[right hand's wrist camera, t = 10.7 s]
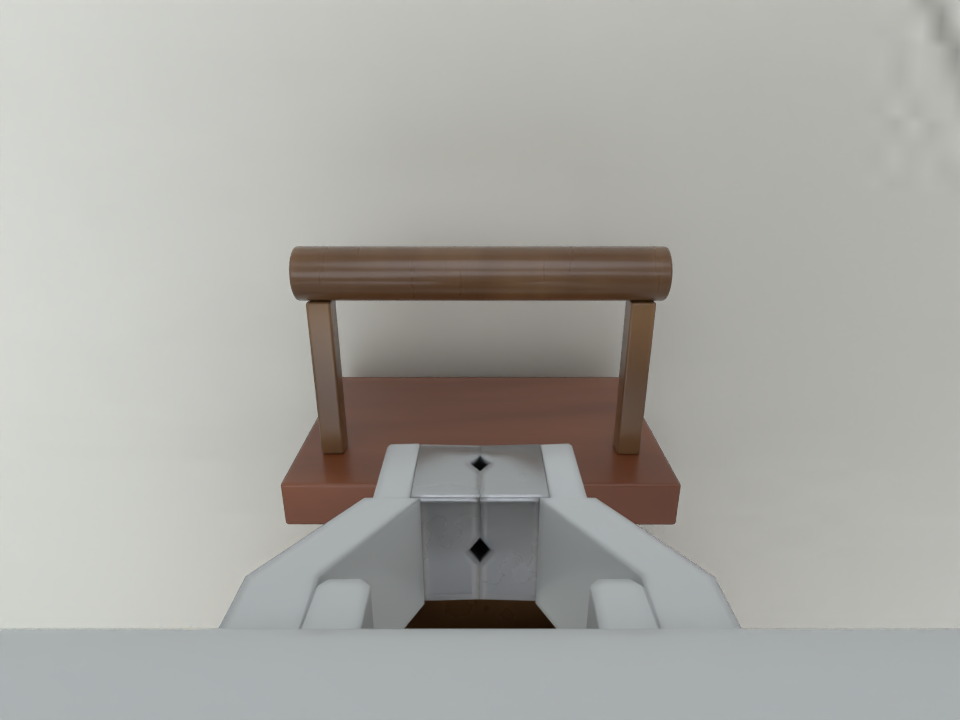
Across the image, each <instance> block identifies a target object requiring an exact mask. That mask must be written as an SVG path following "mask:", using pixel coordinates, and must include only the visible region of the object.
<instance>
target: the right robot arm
mask: <svg viewBox="0 0 960 720" xmlns="http://www.w3.org/2000/svg"><path fill="white" fill-rule="evenodd" d="M467 599H491V600H528V601H536V604H537V606H538V607H539V608H540V609H541V611H542V612H543V613H544V614H545V615H546V617H547V618H548V619H549V620H550V622H551V623H552V624H553V625H554V626H555V628H556V629H404V628H405V627H406V626H407V625H408V623H409V622H410V621H411V620H412V618H413V617H414V616H415V615H416V614H417V612H418V611H419V610H420V609H421V607H422V606H423V605H424V604H425V603H424V601H432V600H467ZM0 720H960V629H741V627H740V625H739V623H738V621H737V619H736V617H735V615H734V613H733V611H732V609H731V607H730V605H729V603H728V601H727V600H726V598H725V596H724V594H723V592H722V590H721V588H720V586H719V584H718V582H717V580H716V578H715V577H714V576H712V575H711V574H709V573H708V572H706V571H705V570H703V569H702V568H700V567H699V566H697V565H696V564H694V563H693V562H691V561H690V560H688V559H687V558H685V557H684V556H682V555H681V554H679V553H678V552H676V551H675V550H673V549H672V548H670V547H669V546H667V545H666V544H664V543H663V542H661V541H660V540H658V539H657V538H655V537H654V536H652V535H651V534H649V533H648V532H646V531H645V530H643V529H642V528H640V527H639V526H637V525H636V524H634V523H633V522H631V521H630V520H628V519H627V518H625V517H624V516H622V515H621V514H619V513H618V512H616V511H615V510H613V509H612V508H610V507H609V506H607V505H606V504H604V503H603V502H601V501H600V500H598V499H597V498H587V496H586V493H585V489H584V486H583V482H582V479H581V475H580V472H579V469H578V465H577V462H576V458H575V455H574V451H573V448H572V445H570V444H546V445H540V444H530V445H488V446H480V445H433V444H421V445H419V444H391V445H389V446H388V447H387V451H386V454H385V458H384V461H383V465H382V468H381V472H380V475H379V479H378V482H377V486H376V489H375V493H374V496H373V498H363V499H362V500H360V501H359V502H357V503H356V504H354V505H353V506H351V507H350V508H348V509H347V510H345V511H344V512H342V513H341V514H339V515H338V516H336V517H335V518H333V519H332V520H330V521H329V522H327V523H326V524H324V525H323V526H321V527H320V528H318V529H317V530H315V531H314V532H312V533H311V534H309V535H308V536H306V537H305V538H303V539H302V540H300V541H299V542H297V543H295V544H294V545H292V546H291V547H289V548H288V549H286V550H285V551H283V552H282V553H280V554H279V555H277V556H276V557H274V558H273V559H271V560H270V561H268V562H267V563H265V564H264V565H262V566H261V567H259V568H258V569H256V570H255V571H253V572H252V573H250V574H249V575H247V576H246V577H245V579H244V581H243V583H242V585H241V586H240V588H239V590H238V592H237V594H236V596H235V598H234V600H233V602H232V604H231V606H230V608H229V610H228V611H227V613H226V615H225V617H224V619H223V621H222V623H221V625H220V627H219V629H0Z"/></svg>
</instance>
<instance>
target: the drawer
mask: <svg viewBox="0 0 960 720" xmlns="http://www.w3.org/2000/svg"><path fill="white" fill-rule="evenodd" d="M289 277H290V284H291V289H292V292H293V295H294V297H295V298H296V299H297V300H309V301H308V302H307V303H306V310H307V319H308V328H309V337H310V346H311V355H312V365H313V374H314V383H315V392H316V401H317V410H318V418H317V420H316V422H315V423H314V425H313V427H312V429H311V431H310V433H309V434H308V436H307V438H306V440H305V442H304V444H303V445H302V447H301V449H300V451H299V453H298V454H297V456H296V458H295V460H294V462H293V464H292V465H291V467H290V469H289V471H288V473H287V474H286V476H285V478H284V480H283V482H282V484H281V490H282V497H283V504H284V511H285V518H286V523H287V524H326V523H327V522H329V521H330V520H332V519H333V518H335V517H336V516H338V515H339V514H341V513H342V512H344V511H345V510H347V509H348V508H350V507H351V506H353V505H354V504H356V503H357V502H359V501H360V500H362V499H363V498H373V496H374V493H375V489H376V486H377V482H378V479H379V475H380V472H381V468H382V465H383V461H384V458H385V454H386V451H387V447H388V446H389V445H391V444H419V445H421V444H433V445H480V446H488V445H530V444H540V445H546V444H570V445H572V448H573V451H574V455H575V458H576V462H577V465H578V469H579V472H580V475H581V479H582V482H583V486H584V489H585V493H586V496H587V498H597V499H598V500H600V501H601V502H603V503H604V504H606V505H607V506H609V507H610V508H612V509H613V510H615V511H616V512H618V513H619V514H621V515H622V516H624V517H625V518H627V519H628V520H630V521H631V522H633V523H634V524H675V521H676V515H677V508H678V501H679V493H680V486H681V485H680V483H679V481H678V479H677V477H676V476H675V474H674V472H673V470H672V468H671V467H670V465H669V463H668V461H667V459H666V457H665V456H664V454H663V452H662V450H661V448H660V446H659V445H658V443H657V441H656V439H655V437H654V436H653V434H652V432H651V430H650V428H649V426H648V425H647V423H646V421H645V419H644V408H645V399H646V390H647V381H648V372H649V363H650V354H651V345H652V336H653V327H654V318H655V309H656V303H655V302H654V301H662V300H665V299H666V298H667V296H668V294H669V291H670V287H671V282H672V259H671V254H670V251H669V249H668V248H667V247H383V246H297V247H295V248H294V249H293V251H292V253H291V257H290V264H289ZM335 300H352V301H626V308H625V319H624V330H623V341H622V352H621V363H620V373H619V377H342V370H341V359H340V348H339V337H338V326H337V315H336V304H335ZM424 603H425V604H424V605H423V606H422V607H421V609H420V610H419V611H418V612H417V614H416V615H415V616H414V617H413V618H412V620H411V621H410V622H409V623H408V625H407V626H406V627H405V628H404V629H556V628H555V626H554V625H553V624H552V623H551V622H550V620H549V619H548V618H547V617H546V615H545V614H544V613H543V612H542V611H541V609H540V608H539V607H538V606H537V604H536V601H528V600H491V599H467V600H432V601H424Z"/></svg>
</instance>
